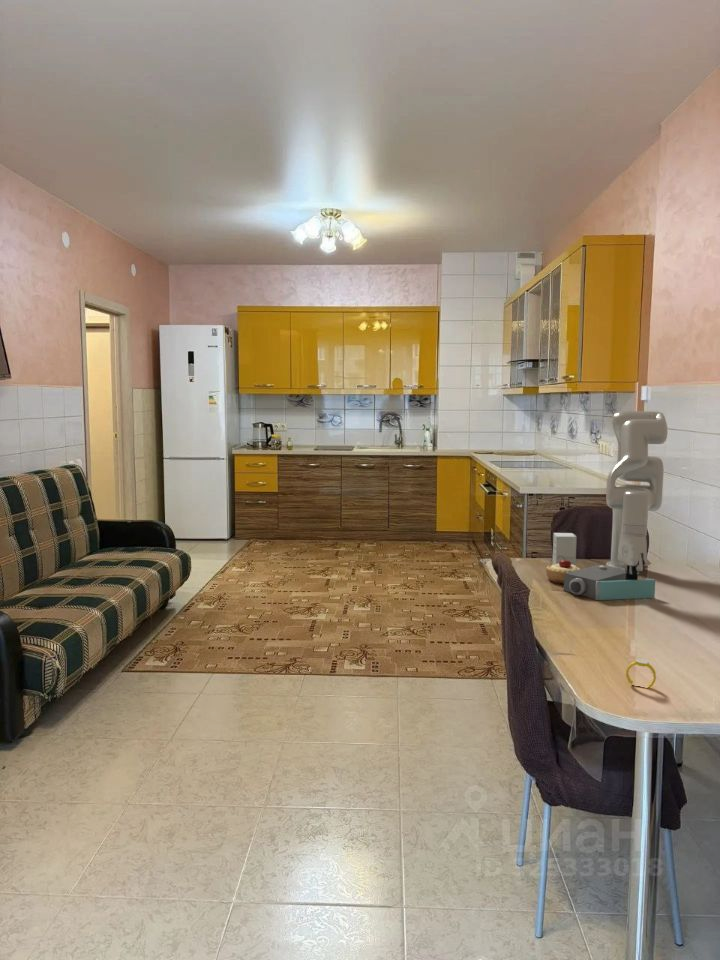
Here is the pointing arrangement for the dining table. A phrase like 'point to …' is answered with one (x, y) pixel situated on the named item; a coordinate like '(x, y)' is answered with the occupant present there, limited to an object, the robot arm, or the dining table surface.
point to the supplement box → (564, 547)
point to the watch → (641, 663)
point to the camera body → (590, 579)
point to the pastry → (559, 570)
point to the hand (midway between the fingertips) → (631, 585)
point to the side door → (625, 589)
